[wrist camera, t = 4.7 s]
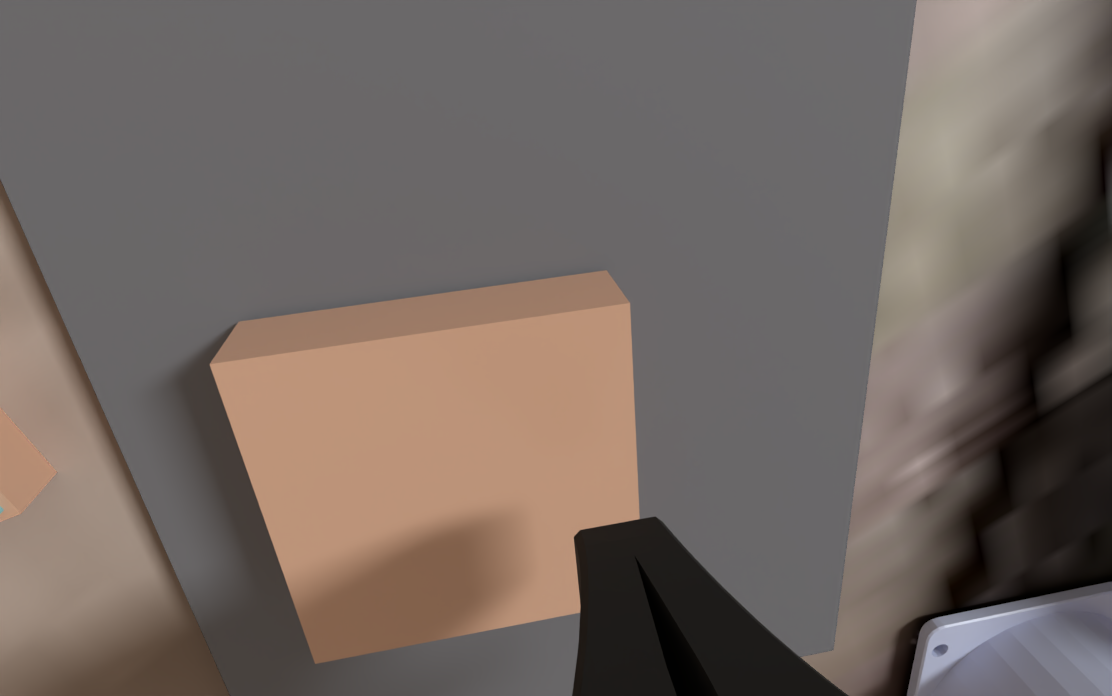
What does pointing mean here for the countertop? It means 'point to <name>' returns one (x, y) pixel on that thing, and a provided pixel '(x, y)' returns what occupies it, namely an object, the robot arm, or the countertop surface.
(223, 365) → the tile
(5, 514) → the tile
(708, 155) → the mat
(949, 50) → the countertop surface
